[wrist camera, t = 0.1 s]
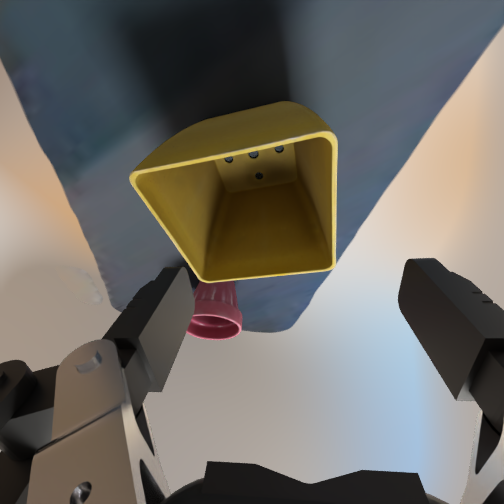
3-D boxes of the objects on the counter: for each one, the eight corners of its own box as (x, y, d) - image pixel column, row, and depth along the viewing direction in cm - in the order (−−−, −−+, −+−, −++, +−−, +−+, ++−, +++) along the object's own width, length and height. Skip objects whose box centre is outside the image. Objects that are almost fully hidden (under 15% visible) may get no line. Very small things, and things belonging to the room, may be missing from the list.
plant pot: (251, 273, 64) (248, 321, 55) (237, 300, 74) (233, 344, 66) (193, 261, 61) (181, 310, 53) (188, 290, 71) (177, 335, 63)
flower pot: (320, 193, 44) (336, 271, 34) (216, 210, 48) (201, 285, 37) (313, 64, 30) (338, 128, 20) (169, 103, 34) (122, 173, 24)
